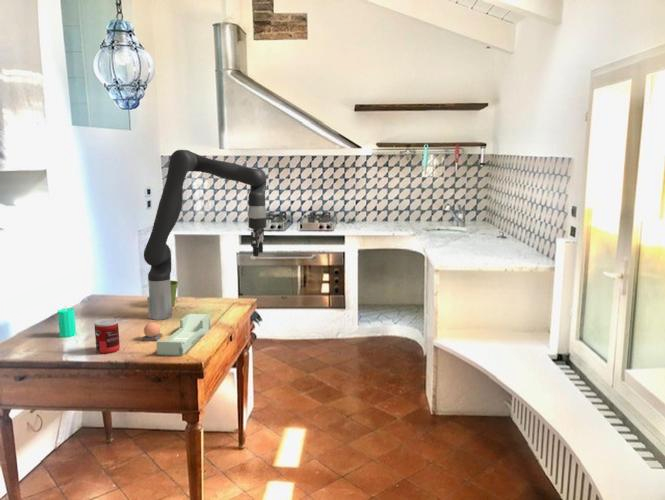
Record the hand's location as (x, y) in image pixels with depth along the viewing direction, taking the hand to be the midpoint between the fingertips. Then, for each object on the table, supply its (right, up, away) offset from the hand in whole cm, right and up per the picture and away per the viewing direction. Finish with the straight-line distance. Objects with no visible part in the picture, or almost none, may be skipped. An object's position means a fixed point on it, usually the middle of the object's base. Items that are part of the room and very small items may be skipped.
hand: (258, 254), depth 224 cm
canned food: (-50, -35, -32) cm, 69 cm away
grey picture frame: (-38, -33, -19) cm, 54 cm away
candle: (-74, -32, -15) cm, 82 cm away
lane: (-25, -33, -22) cm, 47 cm away
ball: (-38, -29, -20) cm, 52 cm away
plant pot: (-47, -25, +27) cm, 60 cm away
